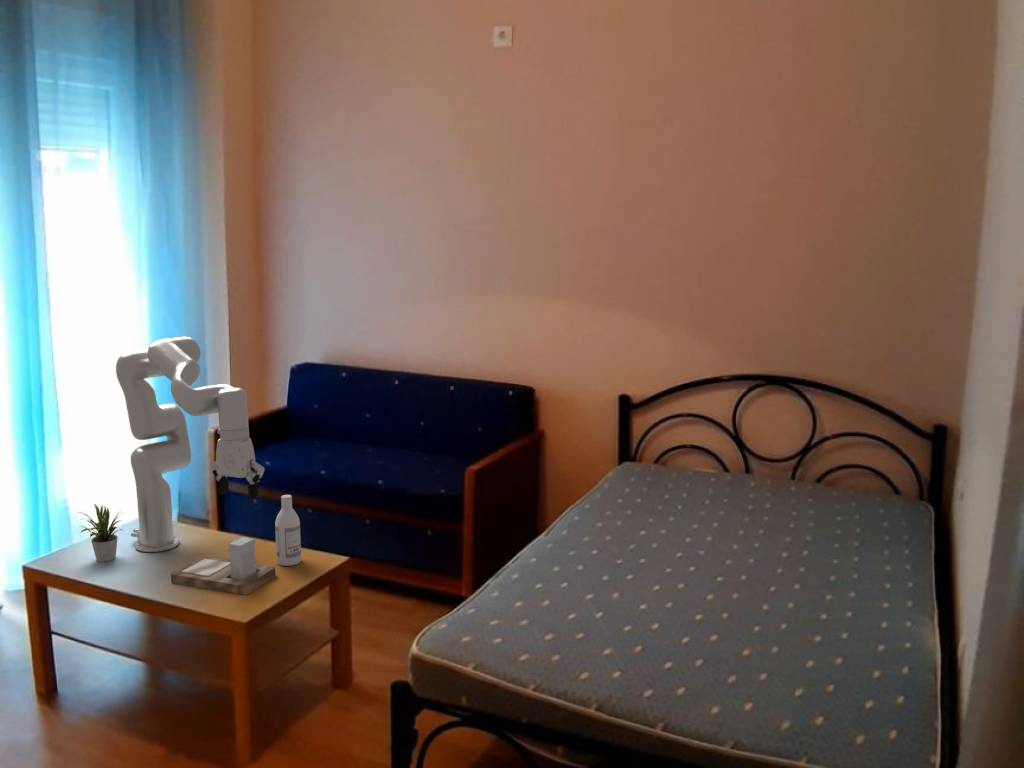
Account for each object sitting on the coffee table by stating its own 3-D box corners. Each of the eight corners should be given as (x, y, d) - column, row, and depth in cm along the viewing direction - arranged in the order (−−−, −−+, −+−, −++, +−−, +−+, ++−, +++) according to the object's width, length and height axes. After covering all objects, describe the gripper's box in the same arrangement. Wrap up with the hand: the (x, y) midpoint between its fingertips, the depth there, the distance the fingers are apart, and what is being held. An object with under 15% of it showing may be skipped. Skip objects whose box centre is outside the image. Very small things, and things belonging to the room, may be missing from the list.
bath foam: (306, 559, 271) (303, 493, 267) (293, 568, 265) (290, 500, 261) (285, 556, 273) (282, 491, 270) (272, 564, 267) (269, 498, 263)
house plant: (68, 557, 271) (63, 504, 268) (116, 545, 281) (111, 494, 278) (87, 571, 262) (83, 515, 259) (136, 558, 271) (132, 504, 268)
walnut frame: (171, 582, 254) (170, 573, 253) (203, 564, 267) (203, 555, 266) (245, 595, 246) (245, 585, 246) (275, 575, 259) (275, 566, 259)
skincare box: (244, 577, 258) (242, 536, 256) (257, 579, 256) (255, 538, 254) (230, 585, 252) (228, 543, 250) (243, 587, 251) (240, 545, 249)
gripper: (199, 434, 248) (203, 496, 251) (252, 439, 242) (256, 502, 245) (217, 429, 255) (222, 489, 258) (269, 433, 249) (273, 494, 252)
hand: (238, 495), depth 251 cm, fingers open, 9 cm apart
